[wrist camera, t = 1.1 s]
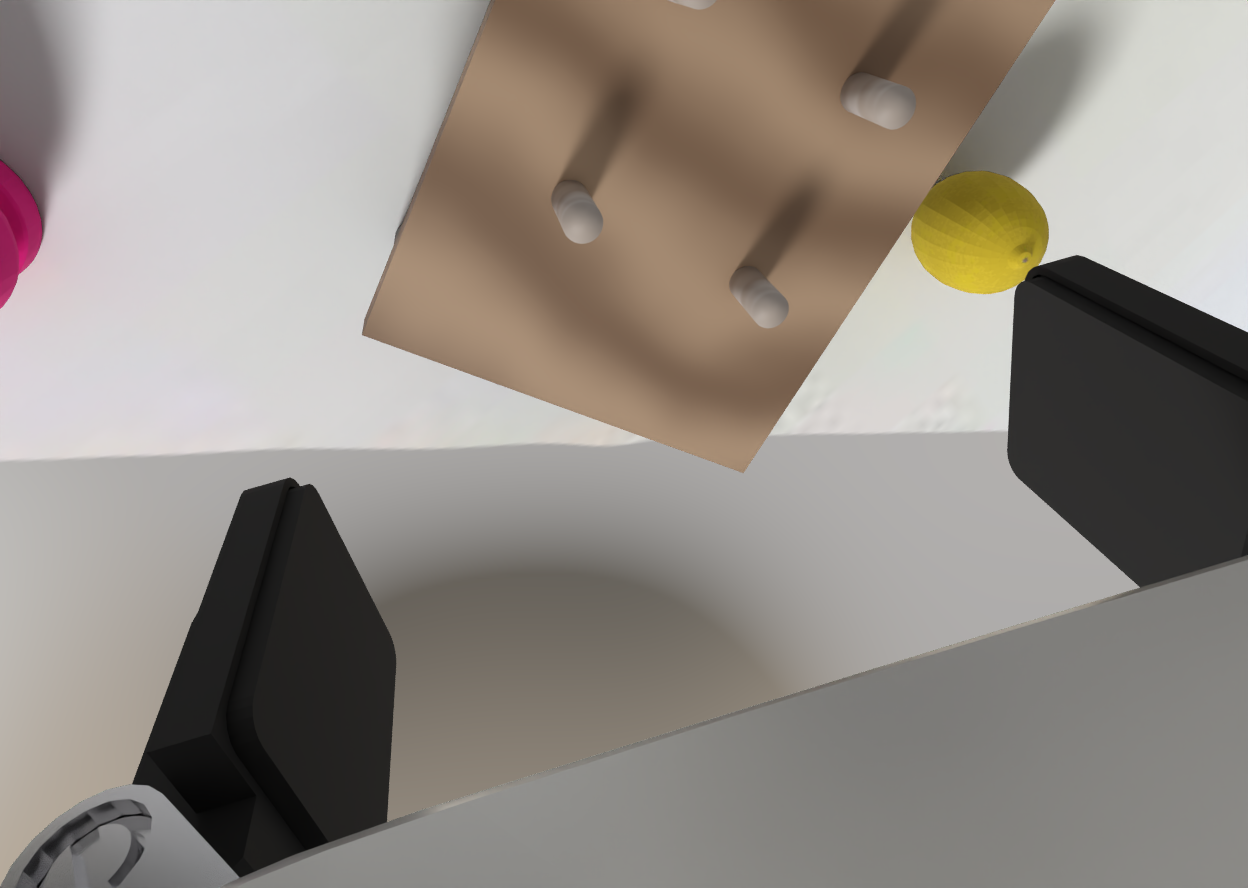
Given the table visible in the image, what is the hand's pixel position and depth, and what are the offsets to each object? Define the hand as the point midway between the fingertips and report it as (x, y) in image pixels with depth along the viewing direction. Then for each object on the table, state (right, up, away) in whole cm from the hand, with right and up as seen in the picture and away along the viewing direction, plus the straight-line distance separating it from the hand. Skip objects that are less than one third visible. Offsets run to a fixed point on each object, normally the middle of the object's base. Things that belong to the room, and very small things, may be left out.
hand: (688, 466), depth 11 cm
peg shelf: (+1, +16, +27) cm, 32 cm away
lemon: (+15, +13, +33) cm, 38 cm away
